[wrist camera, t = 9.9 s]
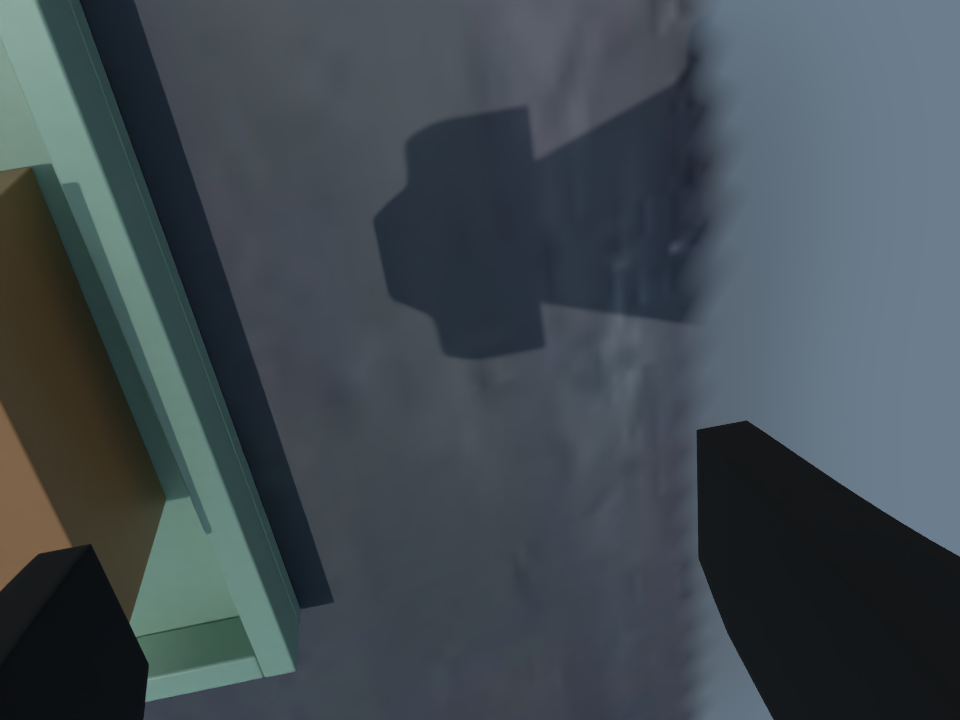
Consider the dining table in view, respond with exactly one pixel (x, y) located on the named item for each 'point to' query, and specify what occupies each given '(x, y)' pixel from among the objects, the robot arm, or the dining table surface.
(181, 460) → the tray
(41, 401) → the block
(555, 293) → the dining table surface
